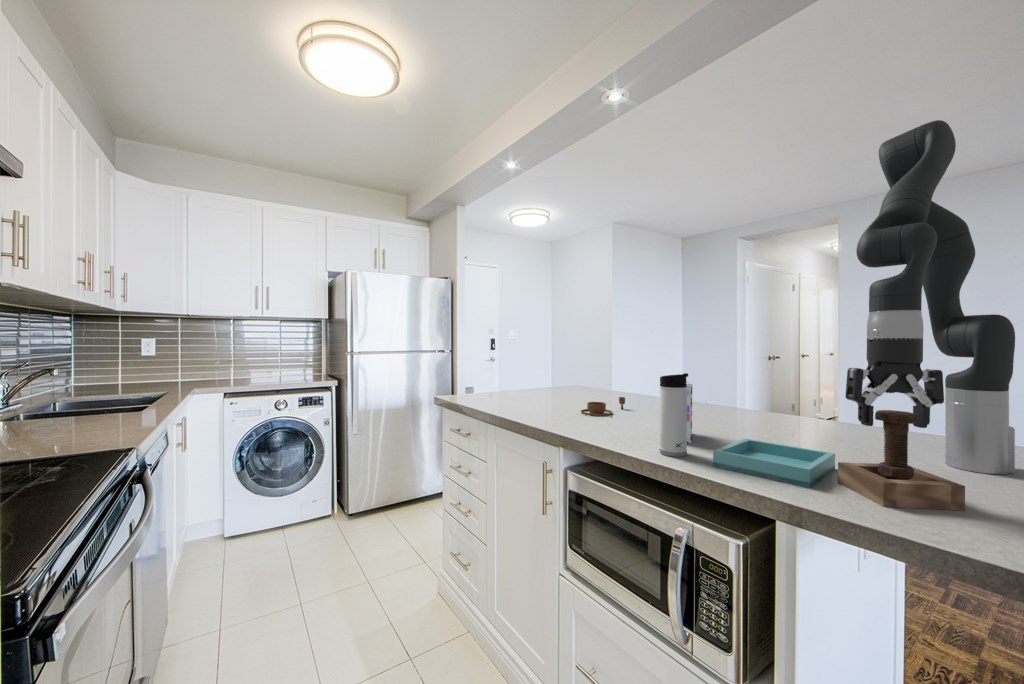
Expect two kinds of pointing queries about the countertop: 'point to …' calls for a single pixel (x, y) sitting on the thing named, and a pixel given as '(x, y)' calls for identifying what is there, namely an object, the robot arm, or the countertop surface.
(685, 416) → the travel mug
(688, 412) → the candy box
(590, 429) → the countertop surface
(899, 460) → the bolt
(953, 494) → the tray
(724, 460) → the tray
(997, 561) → the countertop surface
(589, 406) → the place setting
